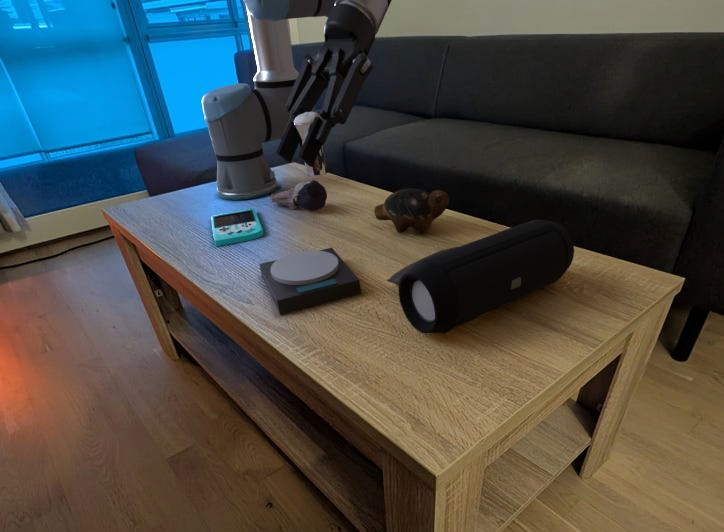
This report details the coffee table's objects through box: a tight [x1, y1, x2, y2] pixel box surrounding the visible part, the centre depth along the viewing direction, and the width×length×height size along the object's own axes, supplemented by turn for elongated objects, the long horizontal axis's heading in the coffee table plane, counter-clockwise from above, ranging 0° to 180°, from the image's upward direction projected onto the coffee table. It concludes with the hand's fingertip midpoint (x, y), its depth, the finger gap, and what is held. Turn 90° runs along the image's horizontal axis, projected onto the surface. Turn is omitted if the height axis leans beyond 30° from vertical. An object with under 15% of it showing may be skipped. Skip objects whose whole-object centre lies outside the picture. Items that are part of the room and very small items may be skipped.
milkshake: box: [286, 109, 328, 178], centre depth 71 cm, size 4×5×10 cm
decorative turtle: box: [373, 187, 450, 236], centre depth 88 cm, size 10×15×8 cm, turn 76°
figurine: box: [270, 179, 328, 212], centre depth 102 cm, size 10×6×15 cm
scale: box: [258, 247, 362, 316], centre depth 73 cm, size 14×13×3 cm
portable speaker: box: [398, 218, 575, 335], centre depth 62 cm, size 26×10×10 cm, turn 124°
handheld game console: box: [210, 208, 264, 247], centre depth 96 cm, size 10×16×1 cm, turn 20°
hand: (294, 159), depth 70 cm, fingers closed on milkshake, 5 cm apart
